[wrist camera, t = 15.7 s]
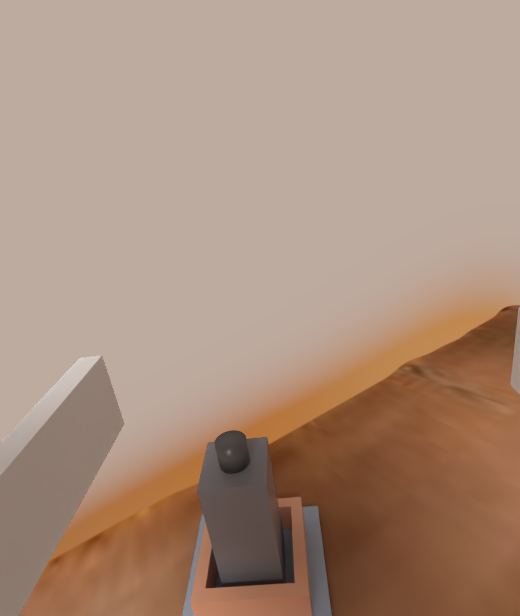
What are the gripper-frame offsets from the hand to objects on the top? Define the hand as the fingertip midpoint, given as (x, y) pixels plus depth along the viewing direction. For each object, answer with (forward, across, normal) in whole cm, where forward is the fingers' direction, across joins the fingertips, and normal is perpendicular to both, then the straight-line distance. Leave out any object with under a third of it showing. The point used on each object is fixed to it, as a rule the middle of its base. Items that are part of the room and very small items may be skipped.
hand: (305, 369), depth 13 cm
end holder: (+13, -6, -28) cm, 31 cm away
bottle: (+13, -6, -27) cm, 30 cm away
